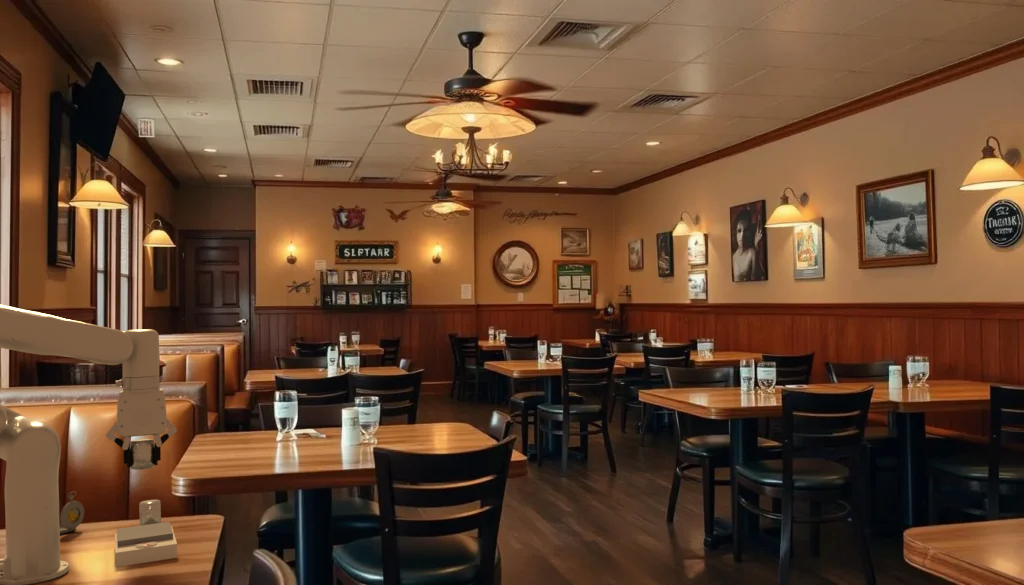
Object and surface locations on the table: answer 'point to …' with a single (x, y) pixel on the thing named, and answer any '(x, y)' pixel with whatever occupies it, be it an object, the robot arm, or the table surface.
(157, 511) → the cylinder
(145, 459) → the cylinder
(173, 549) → the scale
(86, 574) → the table surface
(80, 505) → the pocket watch
